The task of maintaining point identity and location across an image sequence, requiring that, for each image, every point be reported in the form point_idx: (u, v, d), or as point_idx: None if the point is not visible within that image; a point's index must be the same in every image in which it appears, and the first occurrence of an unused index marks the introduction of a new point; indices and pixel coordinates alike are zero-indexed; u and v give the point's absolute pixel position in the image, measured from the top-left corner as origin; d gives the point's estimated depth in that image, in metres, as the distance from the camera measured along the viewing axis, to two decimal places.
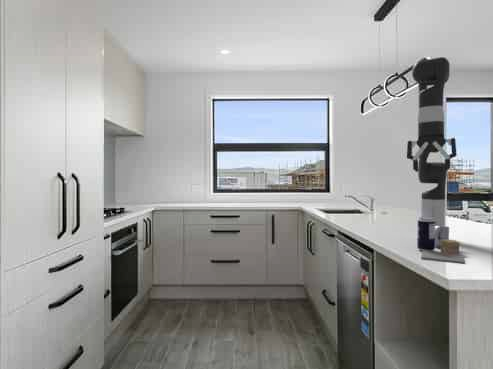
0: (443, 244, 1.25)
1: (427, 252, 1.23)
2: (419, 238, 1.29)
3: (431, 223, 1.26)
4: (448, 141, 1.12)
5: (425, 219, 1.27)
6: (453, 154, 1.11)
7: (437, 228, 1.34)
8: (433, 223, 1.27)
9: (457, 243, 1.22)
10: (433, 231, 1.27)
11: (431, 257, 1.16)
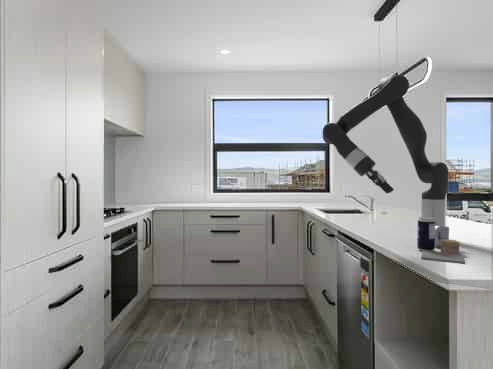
0: (443, 244, 1.25)
1: (427, 252, 1.23)
2: (419, 238, 1.29)
3: (431, 223, 1.26)
4: None
5: (425, 219, 1.27)
6: None
7: (437, 228, 1.34)
8: (433, 223, 1.27)
9: (457, 243, 1.22)
10: (433, 231, 1.27)
11: (431, 257, 1.16)
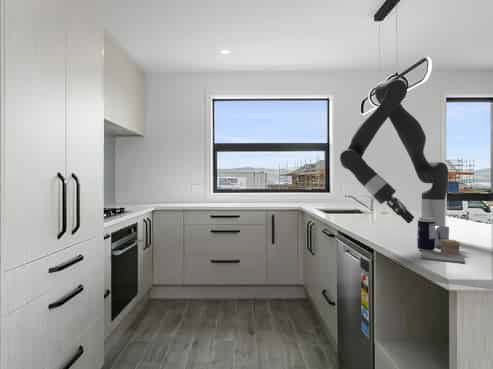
0: (443, 244, 1.25)
1: (427, 252, 1.23)
2: (419, 238, 1.29)
3: (431, 223, 1.26)
4: None
5: (425, 219, 1.27)
6: None
7: (437, 228, 1.34)
8: (433, 223, 1.27)
9: (457, 243, 1.22)
10: (433, 231, 1.27)
11: (431, 257, 1.16)
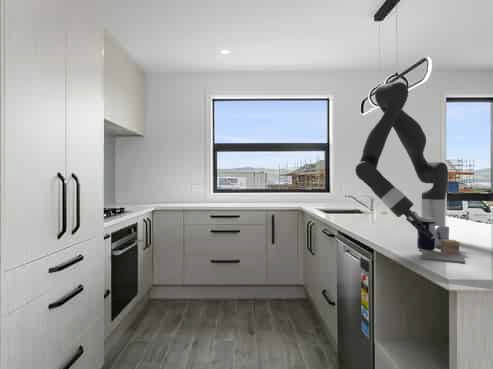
0: (443, 244, 1.25)
1: (427, 252, 1.23)
2: (419, 238, 1.29)
3: (431, 223, 1.26)
4: None
5: (425, 219, 1.27)
6: None
7: (437, 228, 1.34)
8: (433, 223, 1.27)
9: (457, 243, 1.22)
10: (433, 231, 1.27)
11: (431, 257, 1.16)
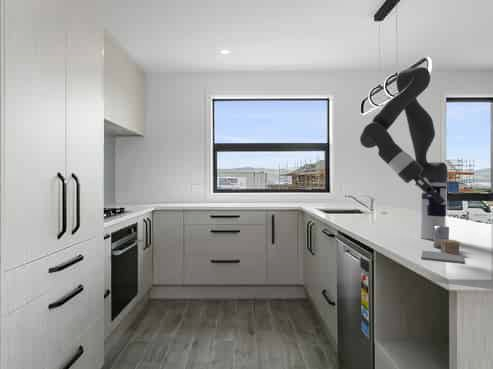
0: (443, 244, 1.25)
1: (427, 252, 1.23)
2: (429, 204, 1.20)
3: (442, 187, 1.17)
4: None
5: (436, 183, 1.18)
6: None
7: (437, 228, 1.34)
8: (444, 188, 1.18)
9: (457, 243, 1.22)
10: (444, 196, 1.18)
11: (431, 257, 1.16)
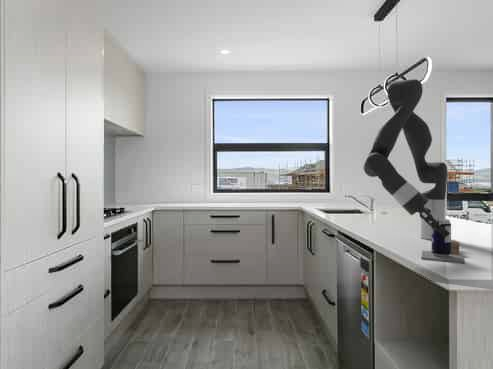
0: None
1: (427, 252, 1.23)
2: (434, 242, 1.18)
3: (446, 225, 1.16)
4: None
5: (440, 221, 1.16)
6: None
7: None
8: (449, 225, 1.16)
9: (457, 243, 1.22)
10: (449, 234, 1.16)
11: (431, 257, 1.16)
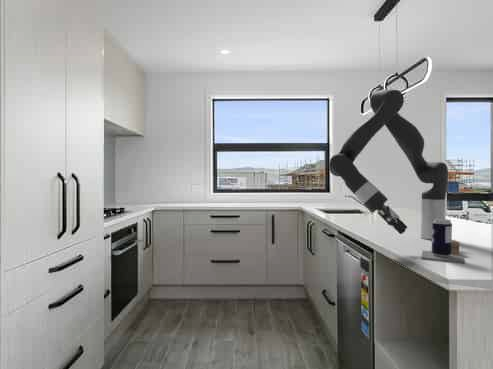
0: None
1: (427, 252, 1.23)
2: (434, 242, 1.18)
3: (447, 225, 1.15)
4: None
5: (441, 221, 1.16)
6: None
7: None
8: (450, 226, 1.16)
9: (457, 243, 1.22)
10: (450, 234, 1.16)
11: (431, 257, 1.16)
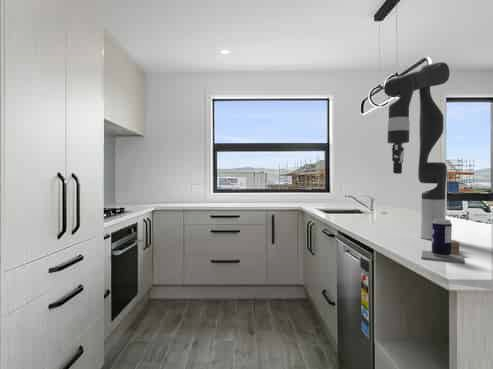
0: None
1: (427, 252, 1.23)
2: (434, 242, 1.18)
3: (447, 225, 1.15)
4: None
5: (440, 221, 1.16)
6: None
7: None
8: (449, 226, 1.16)
9: (457, 243, 1.22)
10: (449, 234, 1.16)
11: (431, 257, 1.16)
